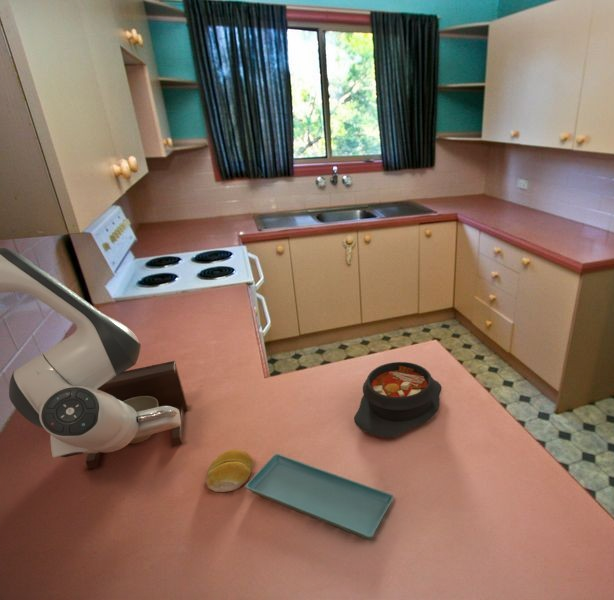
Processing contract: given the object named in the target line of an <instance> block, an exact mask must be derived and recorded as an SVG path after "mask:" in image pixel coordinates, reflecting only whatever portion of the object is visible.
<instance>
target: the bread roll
mask: <svg viewBox="0 0 614 600" xmlns="http://www.w3.org/2000/svg"><path fill="white" fill-rule="evenodd" d="M253 466H254V458H253V456H251V454H249V453H248V452H247V451H245V450H242V449H230V450H226V451H224V452H223V453H221V454H219V455H218V456H217V457H216V458H214V460H213V461H212V462H211V464H210V466H209V467H208V470H207V473H206V476H205V480H206V486H207V488H208V489H209V490H211V491H213V492H216V493H226V492H231V491H235V490H237V489H239V488H240V487H242V486H243V485H244V484H245V483H246V482H247V481H248V479H249V478H250V475H251V473H252V472H251V471H252V469H253Z"/></svg>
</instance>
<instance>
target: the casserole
mask: <svg viewBox="0 0 614 600" xmlns="http://www.w3.org/2000/svg"><path fill="white" fill-rule="evenodd" d="M441 392H442V385H441V383H440V382H439V381H437V380H436V379H434V378H433V377H432V375H431V373H430V372H429V371H428V370H427V368H425V367H423V366H421V365H419V364H416V363H413V362H406V361H393V362H387V363H385V364H381V365H380V366H377V367H375V368H374V369H372V370H371V371H370V372H369V374H368V375H367V378H366V379H365V381H364V382H363V385H362V394H363V396H362V397H361V400H360V403H359V407H358V409H357V411H356V413H355V415H354V417H353V421H354V424H355V425H356V426H357V427H358V429H360V430H361V431H363V432H364V433H366V434H369V435H372V436H374V437H379V438H390V439H391V438H395V437H398V436H401V435H402V434H404V433H406V432H407V431H409V430H411V429H413V428H416V427H418V426H421V425H423V424H425V423H427V422H429V421H430V420H432V418H434V416H436V415H437V413H438V411H439V408H440V404H441V403H440V395H441Z"/></svg>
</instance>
